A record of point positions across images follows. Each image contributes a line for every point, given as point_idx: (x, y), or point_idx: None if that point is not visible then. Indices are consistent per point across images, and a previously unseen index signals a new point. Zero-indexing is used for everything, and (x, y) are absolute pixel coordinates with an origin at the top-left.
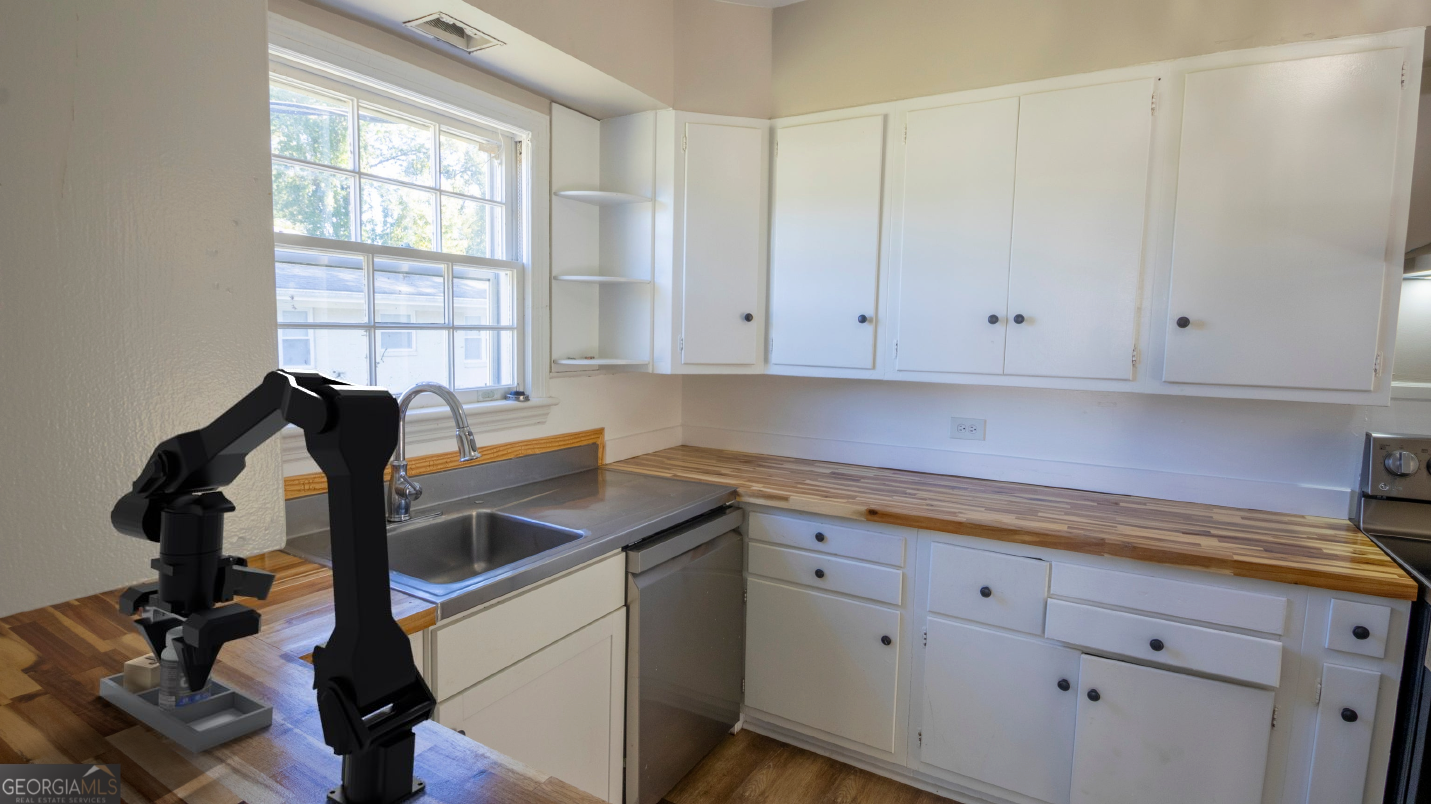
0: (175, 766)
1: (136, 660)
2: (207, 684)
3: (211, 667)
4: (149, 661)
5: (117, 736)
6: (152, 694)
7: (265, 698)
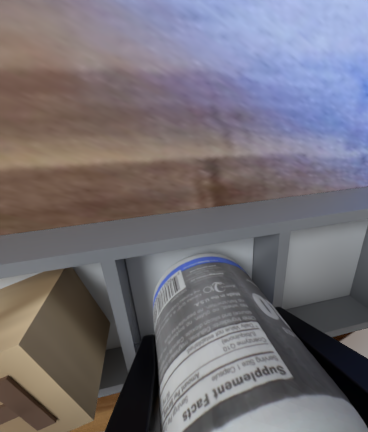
0: None
1: None
2: (264, 295)
3: (356, 354)
4: (12, 426)
5: None
6: (136, 346)
7: (233, 123)
